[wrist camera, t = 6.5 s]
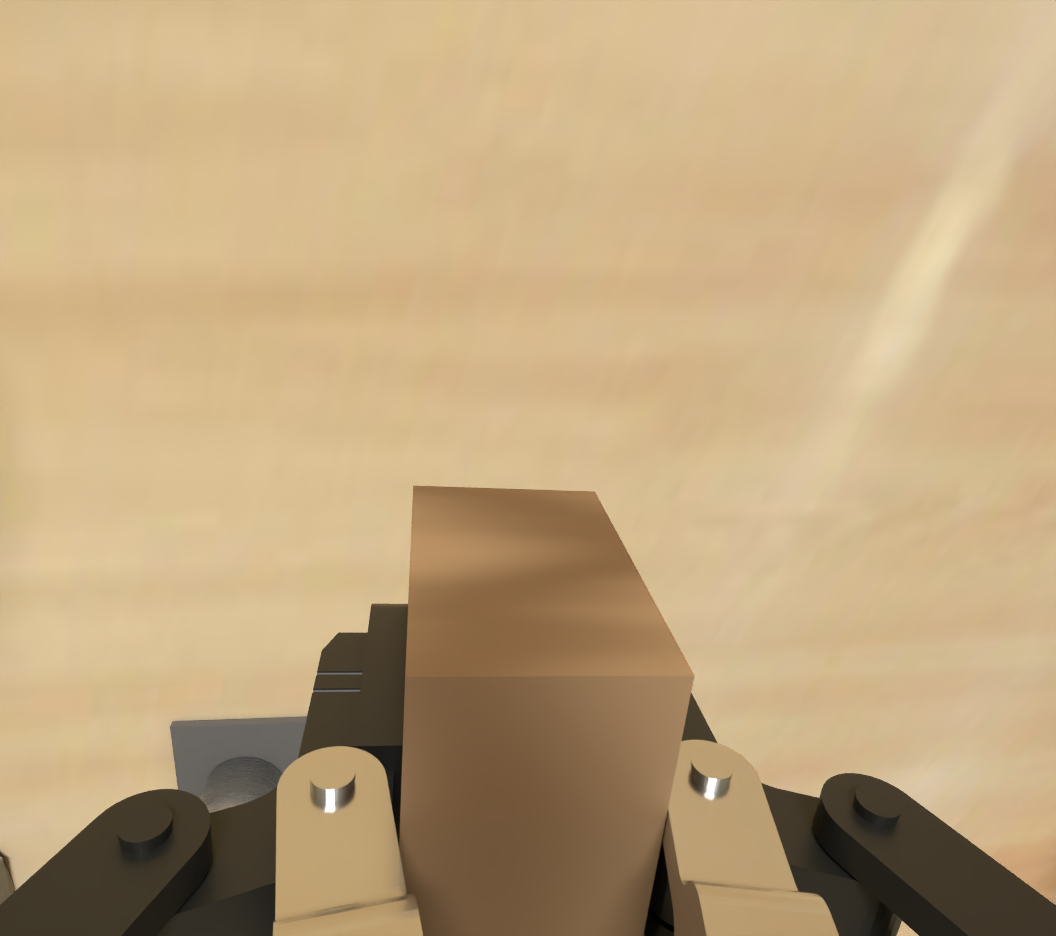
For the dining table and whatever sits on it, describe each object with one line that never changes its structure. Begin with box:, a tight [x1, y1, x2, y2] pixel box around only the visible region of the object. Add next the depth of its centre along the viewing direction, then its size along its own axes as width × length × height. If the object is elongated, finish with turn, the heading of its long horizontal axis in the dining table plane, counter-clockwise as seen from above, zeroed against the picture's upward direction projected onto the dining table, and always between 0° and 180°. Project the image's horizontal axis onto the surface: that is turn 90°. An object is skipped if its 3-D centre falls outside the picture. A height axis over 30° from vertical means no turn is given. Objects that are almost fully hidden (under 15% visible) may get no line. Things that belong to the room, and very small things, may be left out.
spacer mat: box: [170, 717, 307, 798], centre depth 33 cm, size 20×20×1 cm
